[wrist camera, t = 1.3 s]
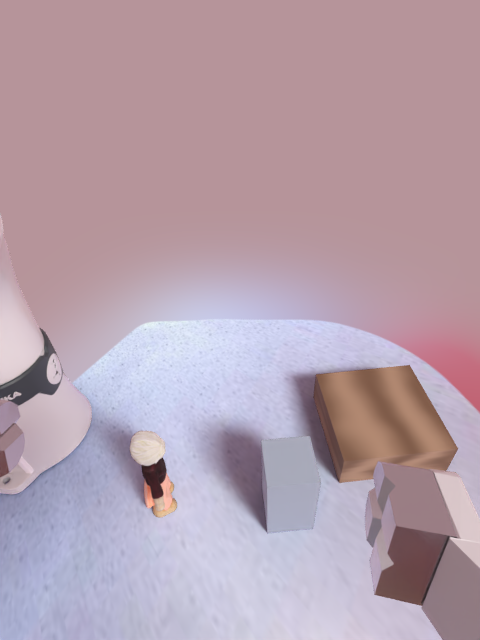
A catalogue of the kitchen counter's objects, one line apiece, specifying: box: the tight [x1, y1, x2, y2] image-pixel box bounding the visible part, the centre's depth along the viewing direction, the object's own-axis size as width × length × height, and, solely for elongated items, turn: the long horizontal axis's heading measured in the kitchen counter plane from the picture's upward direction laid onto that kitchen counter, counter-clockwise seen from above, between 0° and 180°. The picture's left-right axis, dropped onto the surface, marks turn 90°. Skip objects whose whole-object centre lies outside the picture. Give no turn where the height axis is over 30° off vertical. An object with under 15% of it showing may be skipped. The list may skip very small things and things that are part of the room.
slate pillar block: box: [261, 436, 321, 533], centre depth 42 cm, size 5×5×10 cm
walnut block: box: [313, 365, 458, 483], centre depth 51 cm, size 13×13×5 cm
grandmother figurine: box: [130, 431, 177, 517], centre depth 42 cm, size 8×4×13 cm, turn 24°
